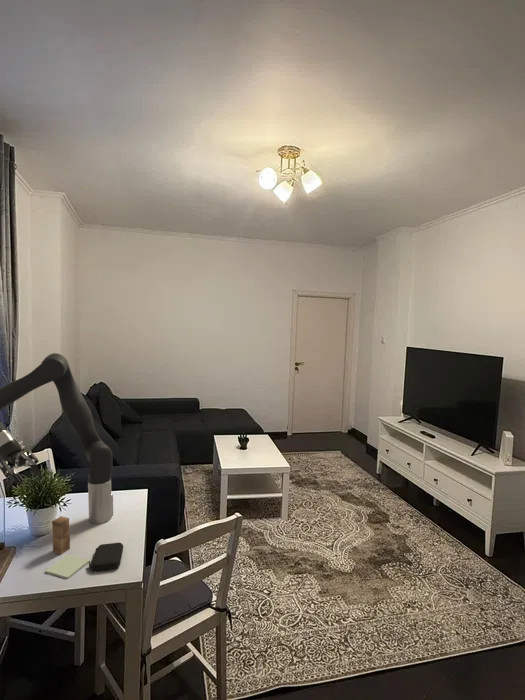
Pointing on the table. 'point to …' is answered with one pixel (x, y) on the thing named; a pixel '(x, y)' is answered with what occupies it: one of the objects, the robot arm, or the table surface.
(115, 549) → the carrying case or bag
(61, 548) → the walnut handle block
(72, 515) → the table surface
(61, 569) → the sage mat
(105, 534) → the table surface
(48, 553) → the table surface
